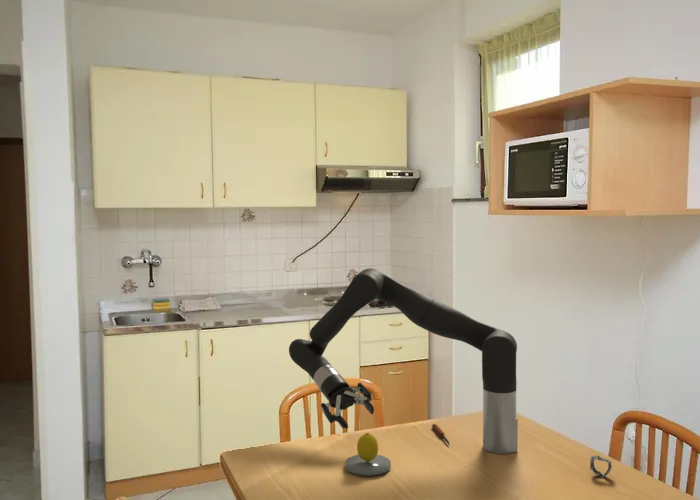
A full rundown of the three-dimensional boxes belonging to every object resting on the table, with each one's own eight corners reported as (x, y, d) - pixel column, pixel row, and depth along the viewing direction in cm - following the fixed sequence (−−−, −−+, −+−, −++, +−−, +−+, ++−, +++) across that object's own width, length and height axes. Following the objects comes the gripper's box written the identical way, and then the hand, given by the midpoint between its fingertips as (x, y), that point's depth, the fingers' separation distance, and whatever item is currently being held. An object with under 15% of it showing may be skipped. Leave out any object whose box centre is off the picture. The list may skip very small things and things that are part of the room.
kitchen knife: (431, 429, 194) (431, 423, 194) (435, 429, 194) (436, 422, 194) (447, 448, 179) (447, 441, 179) (451, 448, 179) (452, 441, 179)
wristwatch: (591, 472, 160) (591, 453, 160) (612, 477, 157) (612, 458, 157) (587, 476, 158) (588, 457, 157) (609, 481, 155) (609, 462, 154)
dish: (392, 459, 170) (391, 454, 170) (389, 478, 158) (389, 472, 158) (348, 458, 171) (348, 452, 171) (342, 476, 160) (342, 471, 159)
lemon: (376, 467, 162) (376, 437, 161) (355, 465, 163) (355, 436, 162) (379, 458, 167) (379, 429, 166) (359, 457, 168) (359, 428, 167)
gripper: (308, 386, 181) (336, 423, 170) (349, 364, 186) (379, 398, 175) (312, 402, 186) (339, 440, 174) (352, 380, 191) (381, 415, 179)
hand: (359, 419), depth 175 cm, fingers open, 8 cm apart
